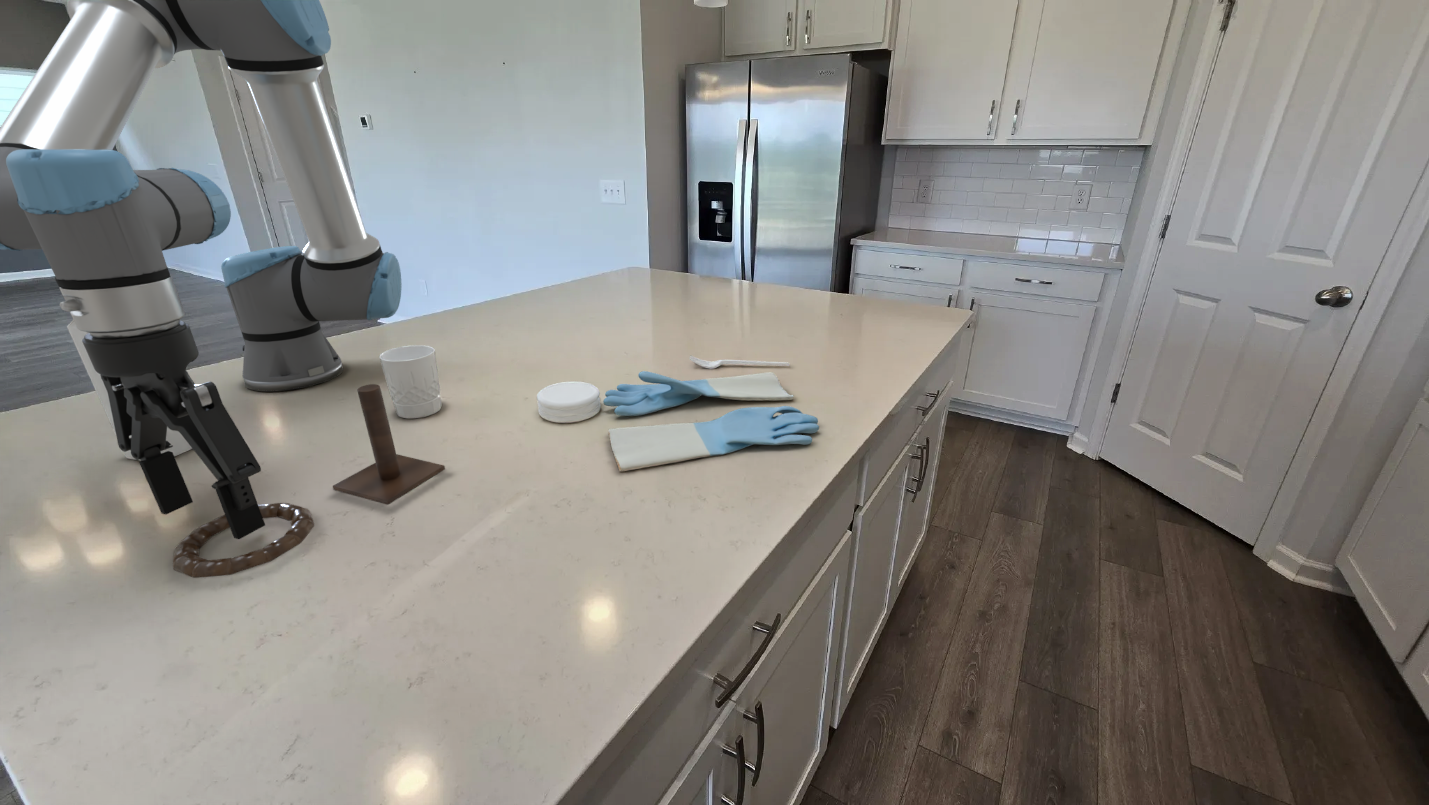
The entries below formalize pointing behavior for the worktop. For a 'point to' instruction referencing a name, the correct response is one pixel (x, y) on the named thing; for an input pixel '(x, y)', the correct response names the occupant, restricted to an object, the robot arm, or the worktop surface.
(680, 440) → the rubber gloves
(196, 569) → the ring
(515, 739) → the worktop surface
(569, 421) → the white short cylinder
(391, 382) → the white cup
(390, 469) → the stand
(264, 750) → the worktop surface
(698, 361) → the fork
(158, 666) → the worktop surface
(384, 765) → the worktop surface
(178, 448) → the milk
